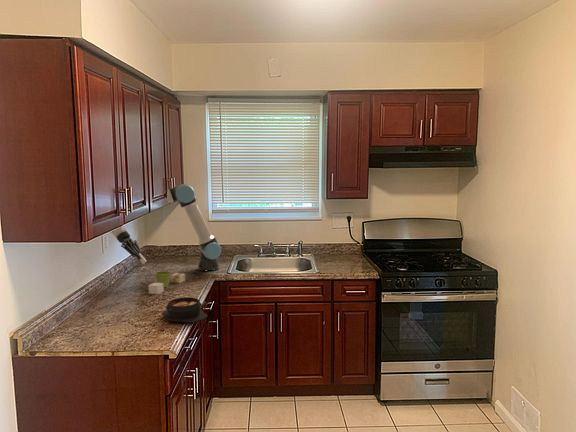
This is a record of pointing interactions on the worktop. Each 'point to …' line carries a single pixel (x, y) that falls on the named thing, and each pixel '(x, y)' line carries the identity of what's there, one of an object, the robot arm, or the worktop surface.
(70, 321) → the worktop surface
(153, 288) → the grey block
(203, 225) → the robot arm
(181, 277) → the birch block
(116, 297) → the worktop surface
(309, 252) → the worktop surface
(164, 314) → the casserole
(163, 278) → the plant pot
